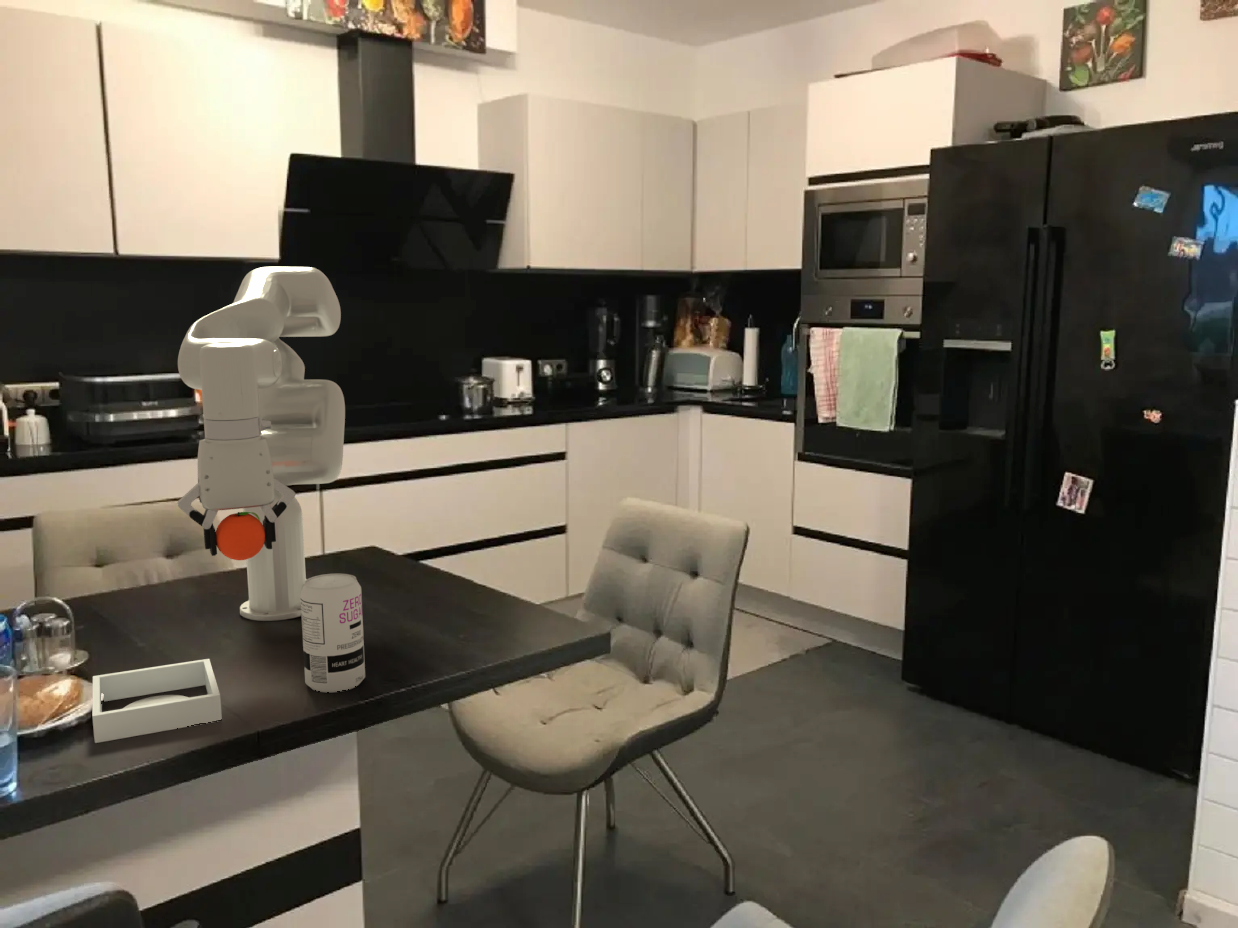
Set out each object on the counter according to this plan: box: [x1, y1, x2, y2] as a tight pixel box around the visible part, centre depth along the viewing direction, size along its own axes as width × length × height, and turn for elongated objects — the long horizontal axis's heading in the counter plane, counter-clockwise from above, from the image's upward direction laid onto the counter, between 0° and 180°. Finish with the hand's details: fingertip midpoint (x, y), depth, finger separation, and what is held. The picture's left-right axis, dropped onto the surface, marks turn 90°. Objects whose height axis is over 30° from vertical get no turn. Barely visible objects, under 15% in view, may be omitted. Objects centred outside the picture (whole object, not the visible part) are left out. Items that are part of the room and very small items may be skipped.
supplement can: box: [300, 573, 366, 693], centre depth 142 cm, size 8×8×15 cm
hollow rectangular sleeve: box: [91, 658, 223, 744], centre depth 134 cm, size 15×15×4 cm
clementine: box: [215, 511, 265, 561], centre depth 149 cm, size 8×7×7 cm
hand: (241, 549), depth 149 cm, fingers closed on clementine, 7 cm apart
